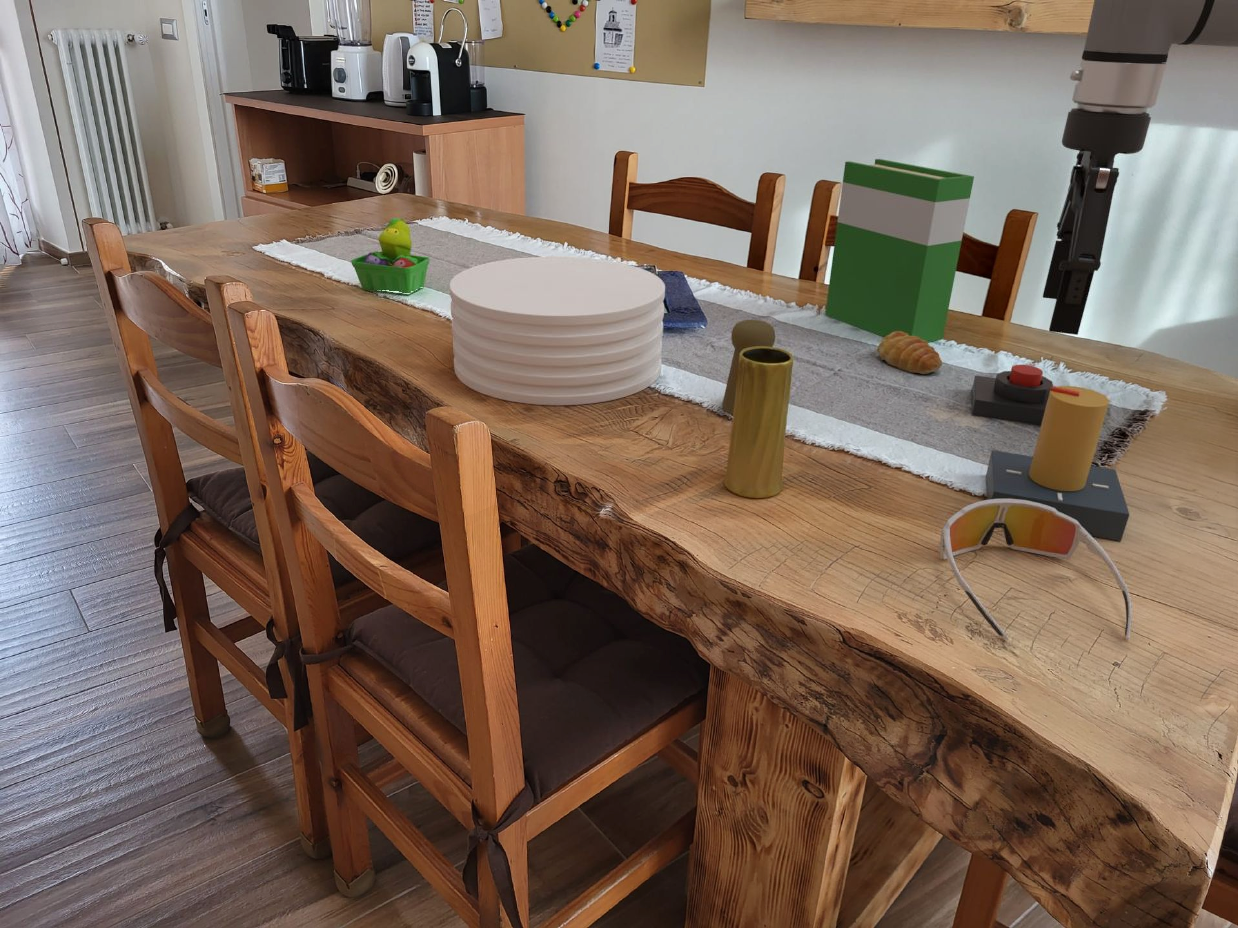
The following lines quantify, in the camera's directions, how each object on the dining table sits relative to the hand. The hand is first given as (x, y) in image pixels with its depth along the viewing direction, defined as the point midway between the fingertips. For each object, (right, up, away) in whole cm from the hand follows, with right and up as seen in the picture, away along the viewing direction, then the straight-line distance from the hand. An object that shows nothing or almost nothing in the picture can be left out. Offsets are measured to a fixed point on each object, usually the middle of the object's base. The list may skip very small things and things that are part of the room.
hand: (1058, 314), depth 101 cm
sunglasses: (-13, -27, -22) cm, 37 cm away
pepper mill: (-33, -10, +13) cm, 36 cm away
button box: (+2, -10, +14) cm, 17 cm away
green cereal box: (-7, +5, +44) cm, 44 cm away
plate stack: (-57, -3, +24) cm, 62 cm away
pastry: (-8, -2, +29) cm, 30 cm away
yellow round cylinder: (-5, -18, -10) cm, 21 cm away
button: (+2, -6, +13) cm, 14 cm away
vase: (-35, -19, -6) cm, 40 cm away
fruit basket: (-87, +13, +55) cm, 104 cm away
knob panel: (-5, -21, -8) cm, 23 cm away
